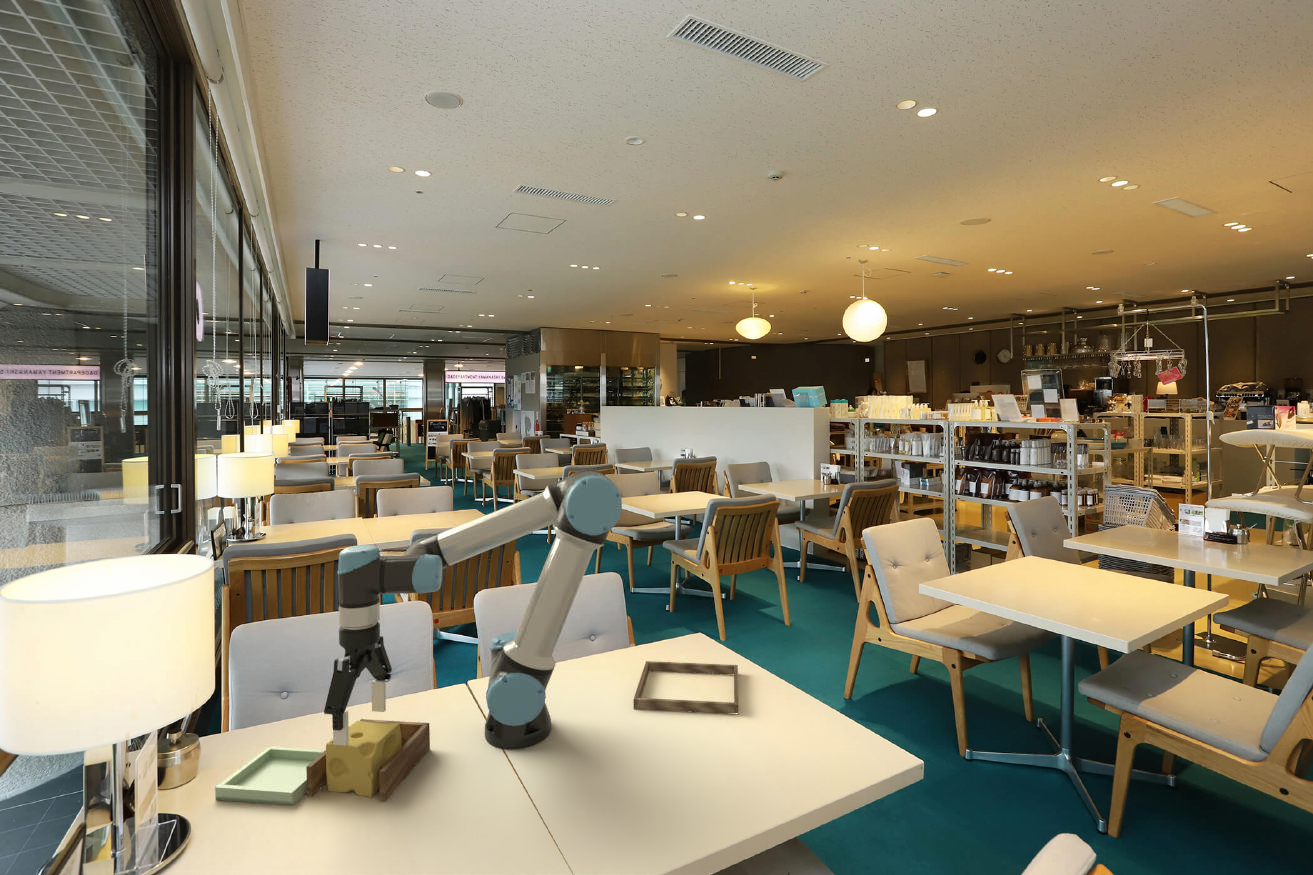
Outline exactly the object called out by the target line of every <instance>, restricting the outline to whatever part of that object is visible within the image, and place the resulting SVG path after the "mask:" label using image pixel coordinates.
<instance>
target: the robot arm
mask: <svg viewBox="0 0 1313 875" xmlns="http://www.w3.org/2000/svg"><path fill="white" fill-rule="evenodd" d="M622 508H623V500H622V495H621V491H620V490H619V488H618V486H617V485H616V484H615V483H614V482H613V481H612V480H611V479H610V478H609V477H608V476H607V475H606V474H604V473H602V472H600V471H599V470H595V469H582V470H580V471H576V472H575V473H572V474H570V475H569V476H567V477H564V478H562V479H561V480H558V481H556V482H554V483H551V484H548V485H547V486H546V487H545V489H544V491H543V492H541V493H538V494H535V495H534V496H531V497H529V498H526V499H523V500H521V501H519V502H516V503H512V504H510V505H508V506H506V507H503V508H501V509H498V510H495V511H493V512H491V513H488V514H486V515H483V516H481V517H479V518H475V519H473V520H471V521H469V522H466V523H463V524H461V525H458V526H455V527H453V528H450V529H448V530H446V531H443V532H440V533H438V534H436V535H433V536H431V537H428V538H420V539H417V540H416V541H413V542H412V543H411V544H410V545H409V546H408V547H407V549H406V550H405V551H404V553H403V554H402V555H391V556H388V555H387V556H386V555H381V553H380V549H379V547H378V546H376V545H368V544H359V545H352V546H348V547H345V548H343V549H342V550H341V551H340V552H339V554H338V566H337V567H338V569H337V570H338V571H337V581H338V582H337V583H338V584H337V585H338V586H337V587H338V618H339V619H338V625H340V627H339V628H338V644H339V646H340V647H342V648H343V649H344V656H343V657H342V658H335V659H334V661H333V673H332V677H331V680H330V686H329V688H328V694H327V697H326V702H325V706H324V710H323V713H324V715H332V739H333V745H348V744H349V728H348V727H349V710H347V707H348V703H349V701H350V697H351V696H352V692H353V690H354V687H355V683H356V680H357V679H358V678H360V676H361V674H362V672H363V671H364V670H365V669H366V670H367V671H368V672H369V673H370V675H371V676H372V677H373V680H371V712H376V713H378V712H379V713H385V712H386V711H387V710H386V708H387V705H386V703H387V701H386V700H387V699H386V698H387V697H386V695H387V694H386V693H387V692H386V690H387V689H386V680H390V679H392V678H391V677H392V674H391V672H392V670H393V669H392V666H391V662H390V660H389V656H388V654H387V650H386V647H385V642H384V636H381V623H380V622H379V621H380V620H381V608H380V607H381V606H380V605H381V603H380V601H381V600H380V599H381V598H380V595H393V594H394V595H396V594H398V595H399V594H400V595H401V594H425V593H433V592H438V591H439V590H440V589H441V587H442V582H443V570H444V569H445V568H447V567H451V566H453V565H455V564H457V563H460V562H462V561H465V560H467V559H469V558H472V557H474V556H477V555H479V554H482V553H485V552H487V551H489V550H492V549H494V548H496V547H499V546H502V545H505V544H506V543H509V542H512V541H514V540H516V539H517V540H518V539H519V538H521V537H523V536H526V535H529V534H532V533H534V532H536V531H539V530H541V529H544V528H546V527H548V526H551V525H552V527H553V530H554V533H555V538H554V541H553V543H552V545H551V548H550V550H549V552H548V555H547V557H546V560H545V562H544V565H543V567H542V570H541V573H540V575H539V578H538V580H537V583H536V585H535V587H534V590H533V592H532V595H531V597H530V600H529V603H528V605H527V607H526V609H525V613H524V615H523V617H522V620H521V621H520V625H519V627H518V629H517V631H510V632H505V633H500V634H497V635H495V636H494V637H493V638H492V639H491V642H490V648H489V649H490V656H491V657H490V660H491V661H490V672H489V679H488V685H487V689H486V694H485V699H486V704H487V709H488V714H487V717H486V719H485V722H484V739H485V740H486V742H488V744H490V745H492V746H494V747H497V748H500V749H501V748H502V749H521V748H526V747H530V746H534V745H536V744H539V743H540V742H542V741H544V740H545V739H546V738H547V737H548V736H549V735H550V733H551V731H552V718H551V715H550V712H549V709H548V706H547V703H546V699H547V696H546V690H547V687H548V685H549V682H550V680H551V677H552V674H553V671H554V670H555V668H556V665H557V664H556V660H555V658H554V655H553V654H554V651H555V648H556V646H557V644H558V643H557V642H558V641H559V638H560V635H561V633H562V631H563V628H564V626H565V623H566V622H567V621H566V620H567V619H568V616H569V613H570V611H571V608H572V606H573V603H574V601H575V598H576V596H577V593H578V591H579V589H580V586H581V584H582V581H583V578H584V576H585V573H586V571H587V569H588V566H589V564H590V561H591V559H592V557H593V556H592V555H593V554H594V551H595V550H597V549H599V548H601V547H603V546H605V542H606V541H607V538H608V535H609V533H610V531H611V529H612V528H613V527H615V525H617V522H618V521H619V519H620V517H621V513H622Z"/></svg>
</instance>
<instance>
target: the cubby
mask: <svg viewBox="0 0 1313 875" xmlns="http://www.w3.org/2000/svg"><path fill="white" fill-rule="evenodd" d="M359 721H363V722H372V723H398V724H400V730H401V740H402V745H401V749H400V750H399V751H398V752H397V753H396V754H395V755H394V756H393V757H392V758H391V759H390V760H389V761H388V762H387V764H386V765H385V766H384V767H383V768H382V769H381V770H380V771H379V786H380V788H379V802H384V803H385V802H386V801H387V800H388V799H389V798H390V796H391V795H392V794H393V793H394V792H395V791H396V789H398V788H399V787H400V785H401V783H403V782H404V780H405V779H406V778H407V777H408V775H409V774H410V773H412V771H413V770H414V769H415V767H417V765H418V764H419V763H420V762H421V760H422V759H423V758H424V757H425V756H426V755H427V754H428V752H429V751H430V750H431V738H430V737H431V736H430V734H431V732H430V722H418V721H417V722H416V721H402V720H401V721H400V720H382V719H381V720H380V719H363V718H361V719H360V720H359ZM324 750H325V751H324V752H323V753H321V754H320V755H319V756H318V757H317V758H316V759H314V760H313V761H312V762H311V763H310V764H309V765H308V766H306V771H307V792H306V794H307V797H313V796H315V795H316V794H317V793H318V792H319V791H320V790H321V789H322V788H323V787H324V786H325V785H326V784H327V775H326V749H324Z"/></svg>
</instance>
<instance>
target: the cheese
mask: <svg viewBox="0 0 1313 875" xmlns="http://www.w3.org/2000/svg"><path fill="white" fill-rule="evenodd" d="M348 728H349V744H348V745H333V738H332V739H331V740H329V741H328V742H326V745H325V750H326V775H327V783H326V784H327V791H329V792H336V793H350V792H352V791H354V792H355V794H356V795H358V796H363V797H370V798H372V797H373V796H374V795H375V794H376V793H377V792H378V790H380V786H379V771H380V770H381V769H382V768H383V767H384V766H385V765H386V764H387V762H388V761H389V760H390V759H391V758H392V757H393V756H394V755H395V754H396V753H397V752H398V751H399V750H400V749H401V745H402V740H401V730H400V724H398V723H372V722H363V721H360V720H356V721H355V722H353V723H352V724H351V725H349V726H348Z"/></svg>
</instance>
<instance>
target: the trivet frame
mask: <svg viewBox="0 0 1313 875" xmlns="http://www.w3.org/2000/svg"><path fill="white" fill-rule="evenodd" d="M650 672H657V673H658V672H659V673H660V672H661V673H679V674H698V673H706V674H705V675H720V674H734V675H733V692H734V693H733V695H734V697H733V698H734V699H733V700H734V702H729V701H728V702H727V701H710V700H709V701H708V700H705V701H704V700H690V699H689V700H688V699H687V700H686V699H673V698H671V699H670V698H650V697H648V698H647V697H642V696H643V693H644V689H645V686H646V683H647V679H648V676H649V673H650ZM708 673H709V674H708ZM712 673H713V674H712ZM632 700H633V703H632V704H633V710H641V711H643V710H644V711H646V710H647V711H660V712H661V711H664V712H678V711H687V712H686V713H689V712H688V711H691V712H690V713H697V712H702V714H717V713H738V714H739V708H740V707H739V667H738V664H723V663H722V664H718V663H699V662H698V663H695V662H694V663H693V662H677V661H675V662H672V661H656V660H655V661H650V660H645V664H644V667H643V669H642V672H641V676H640V678H639V682H638V684H637V688H636V691H635V694H634V696H633V699H632ZM703 712H704V713H703Z"/></svg>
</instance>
